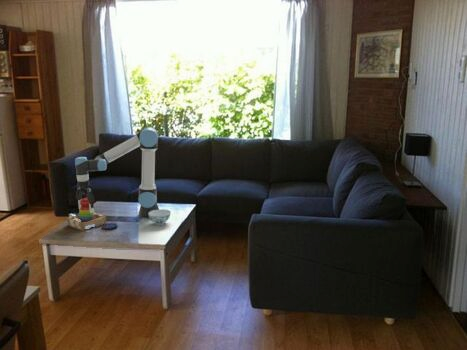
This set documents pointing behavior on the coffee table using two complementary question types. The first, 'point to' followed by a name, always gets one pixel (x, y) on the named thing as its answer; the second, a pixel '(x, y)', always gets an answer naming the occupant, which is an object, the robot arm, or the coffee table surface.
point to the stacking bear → (85, 211)
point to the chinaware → (159, 216)
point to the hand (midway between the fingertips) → (86, 210)
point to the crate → (81, 225)
